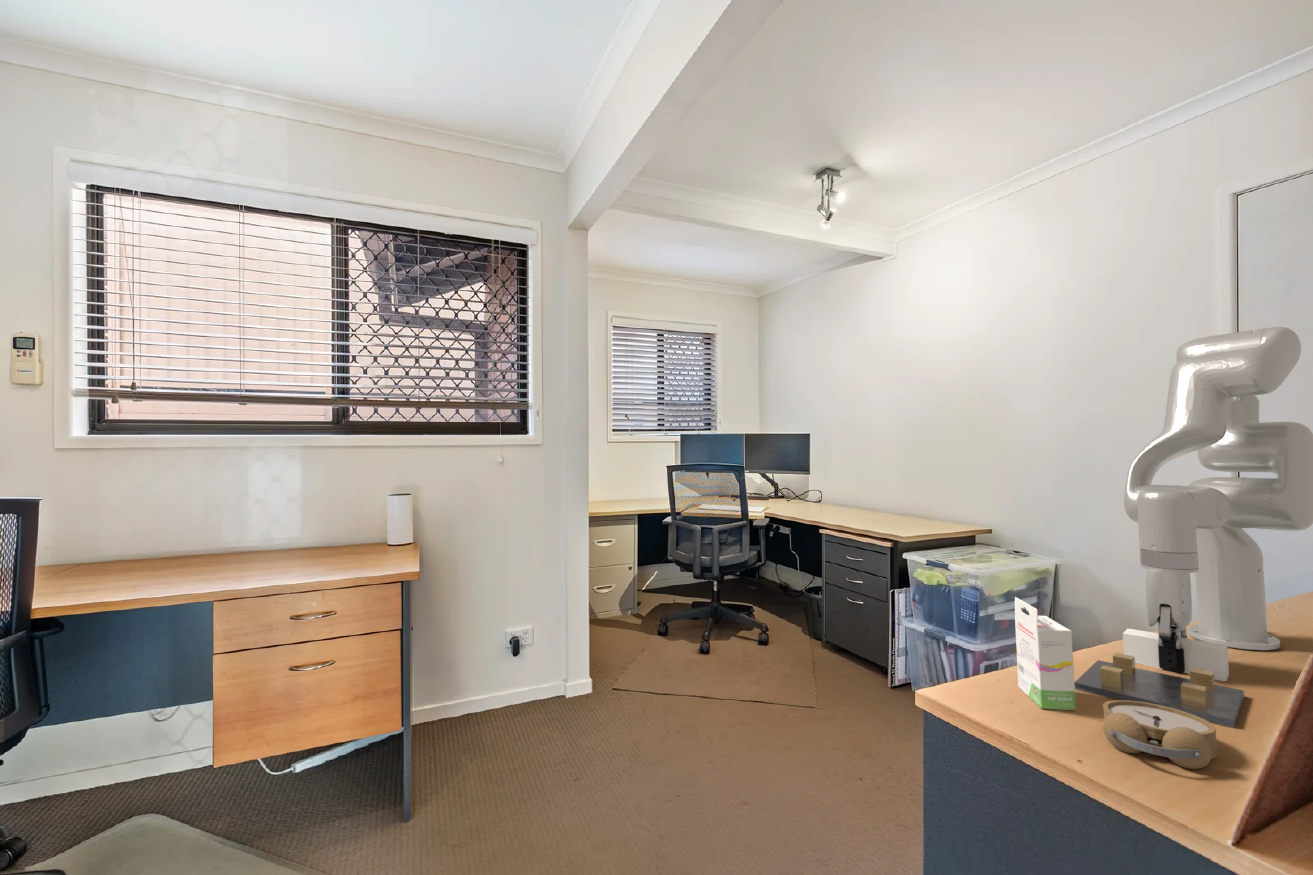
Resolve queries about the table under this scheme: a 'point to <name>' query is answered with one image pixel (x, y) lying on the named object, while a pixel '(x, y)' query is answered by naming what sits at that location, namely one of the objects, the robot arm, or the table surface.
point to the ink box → (1044, 659)
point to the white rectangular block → (1194, 652)
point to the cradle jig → (1164, 689)
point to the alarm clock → (1160, 732)
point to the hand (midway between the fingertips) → (1174, 665)
